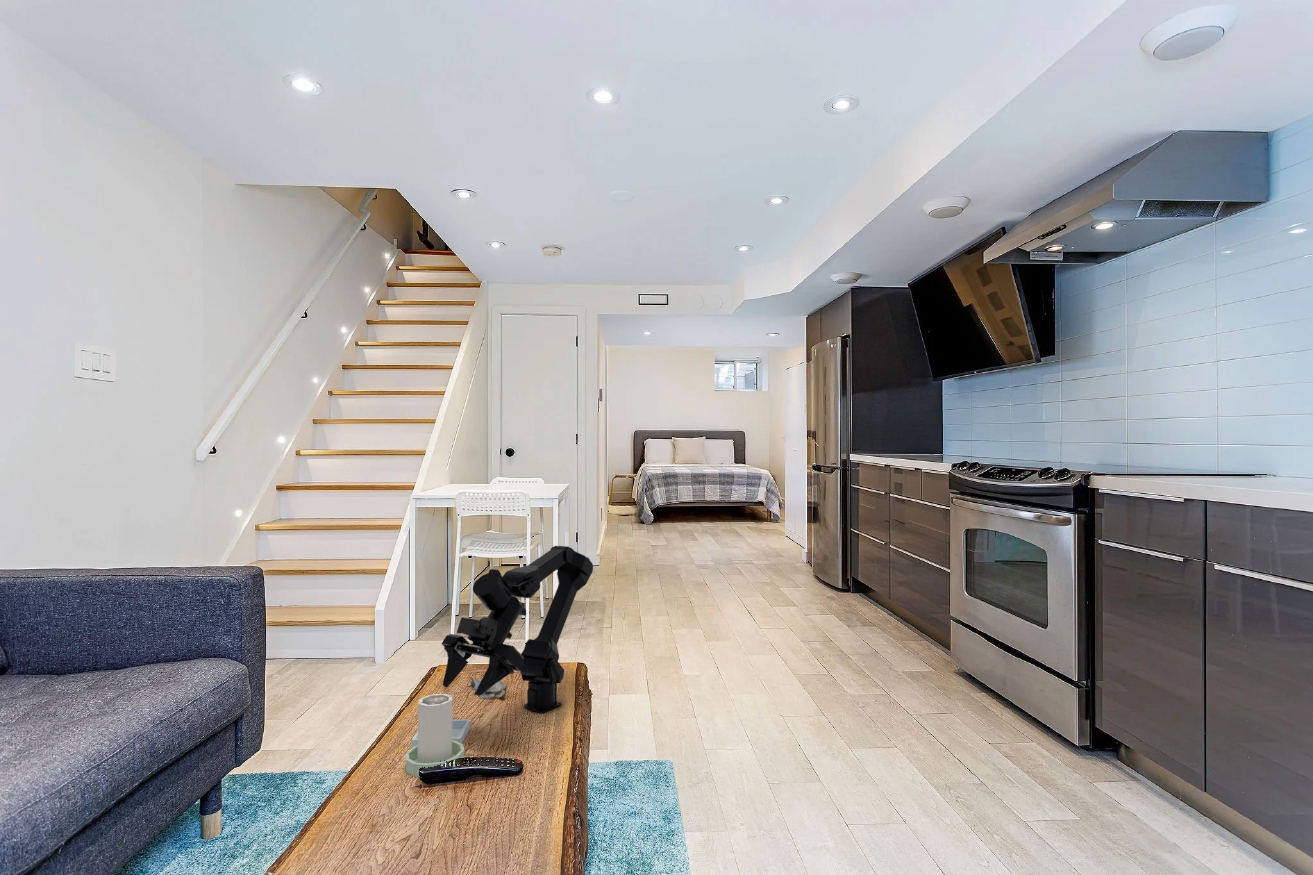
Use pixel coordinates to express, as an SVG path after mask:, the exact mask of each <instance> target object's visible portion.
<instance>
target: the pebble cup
mask: <svg viewBox="0 0 1313 875" xmlns="http://www.w3.org/2000/svg"><path fill="white" fill-rule="evenodd" d="M452 720H453V695H451V694H446V693H435V694H429V695H426V696H423V697H421V698H419V700H418V703H417V731H418V763H435V762H440V761H444V760H447V759H450V758H452Z"/></svg>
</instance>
